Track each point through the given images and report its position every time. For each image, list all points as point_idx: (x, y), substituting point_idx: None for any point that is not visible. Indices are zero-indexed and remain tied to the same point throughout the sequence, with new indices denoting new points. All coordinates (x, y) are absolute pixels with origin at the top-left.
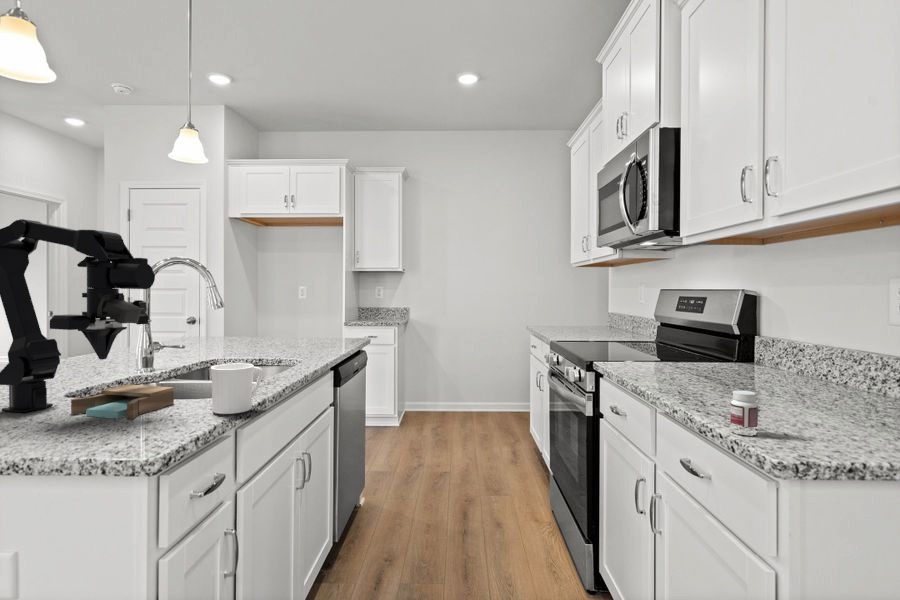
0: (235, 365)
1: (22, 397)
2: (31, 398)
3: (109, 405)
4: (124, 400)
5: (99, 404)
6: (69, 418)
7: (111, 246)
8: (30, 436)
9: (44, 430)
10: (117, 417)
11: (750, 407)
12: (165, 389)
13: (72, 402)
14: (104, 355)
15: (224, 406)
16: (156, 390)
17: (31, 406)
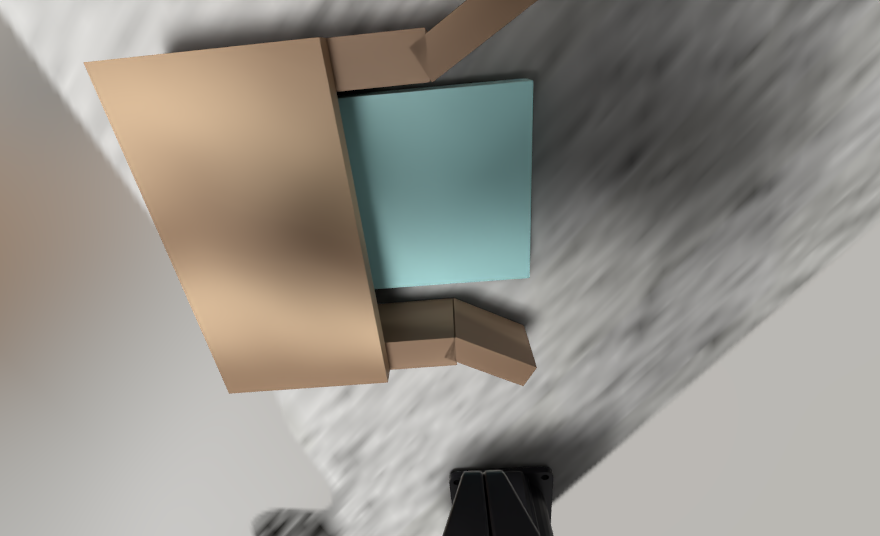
0: None
1: (546, 531)
2: (533, 511)
3: (437, 248)
4: None
5: (428, 315)
6: (571, 288)
7: None
8: (851, 169)
9: (757, 205)
10: (525, 78)
11: None
12: (165, 54)
13: (533, 360)
14: (499, 503)
15: None
16: (226, 91)
17: (527, 483)
